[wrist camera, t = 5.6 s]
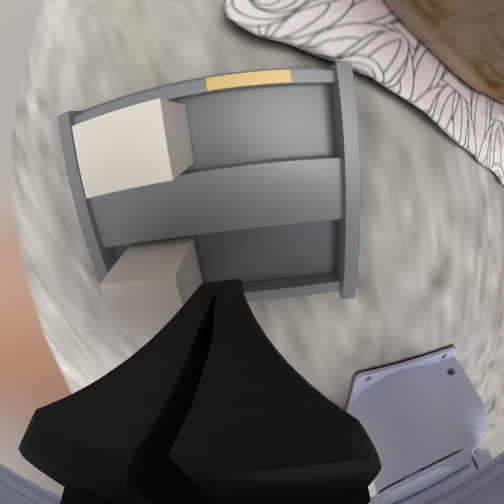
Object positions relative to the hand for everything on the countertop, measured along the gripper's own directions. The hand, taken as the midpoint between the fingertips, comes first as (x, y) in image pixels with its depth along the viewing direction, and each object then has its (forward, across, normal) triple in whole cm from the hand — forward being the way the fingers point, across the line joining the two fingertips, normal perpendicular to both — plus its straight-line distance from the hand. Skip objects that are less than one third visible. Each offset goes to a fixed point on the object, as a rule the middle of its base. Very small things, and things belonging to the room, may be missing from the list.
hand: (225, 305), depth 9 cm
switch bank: (+4, 0, -3) cm, 5 cm away
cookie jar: (+5, -16, -16) cm, 24 cm away
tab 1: (+3, +2, -6) cm, 7 cm away
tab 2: (+3, +3, 0) cm, 5 cm away
